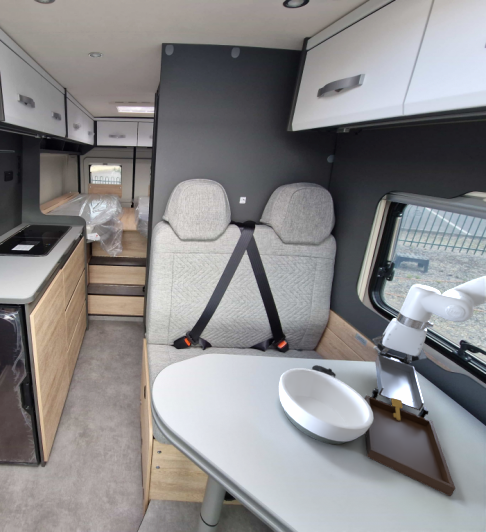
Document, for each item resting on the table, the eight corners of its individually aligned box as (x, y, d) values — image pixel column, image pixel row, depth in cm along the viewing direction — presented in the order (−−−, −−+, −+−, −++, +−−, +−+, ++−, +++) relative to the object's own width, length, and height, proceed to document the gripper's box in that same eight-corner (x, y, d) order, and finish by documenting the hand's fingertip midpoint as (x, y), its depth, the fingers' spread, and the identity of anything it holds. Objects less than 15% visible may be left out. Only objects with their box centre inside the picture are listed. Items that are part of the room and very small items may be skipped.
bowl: (278, 437, 80) (287, 412, 77) (269, 381, 101) (275, 360, 98) (377, 466, 75) (390, 441, 72) (346, 401, 95) (355, 379, 92)
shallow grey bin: (374, 356, 112) (377, 349, 110) (409, 367, 107) (412, 360, 105) (378, 394, 94) (382, 386, 93) (419, 411, 89) (424, 402, 88)
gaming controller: (311, 365, 109) (328, 360, 106) (319, 378, 109) (337, 373, 106) (310, 380, 101) (329, 375, 98) (319, 394, 101) (338, 390, 98)
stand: (367, 399, 97) (373, 387, 95) (421, 421, 90) (428, 408, 88) (368, 403, 95) (374, 390, 94) (422, 425, 89) (429, 412, 87)
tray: (363, 401, 96) (366, 394, 95) (428, 427, 88) (432, 421, 87) (367, 456, 77) (370, 449, 76) (450, 496, 69) (455, 488, 68)
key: (391, 398, 92) (391, 397, 92) (401, 400, 91) (401, 400, 91) (392, 418, 89) (393, 418, 89) (403, 421, 88) (404, 421, 88)
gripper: (442, 326, 101) (419, 370, 108) (379, 308, 110) (361, 350, 116) (448, 335, 95) (423, 382, 102) (381, 316, 104) (362, 360, 110)
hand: (390, 365), depth 109 cm, fingers closed on shallow grey bin, 5 cm apart
